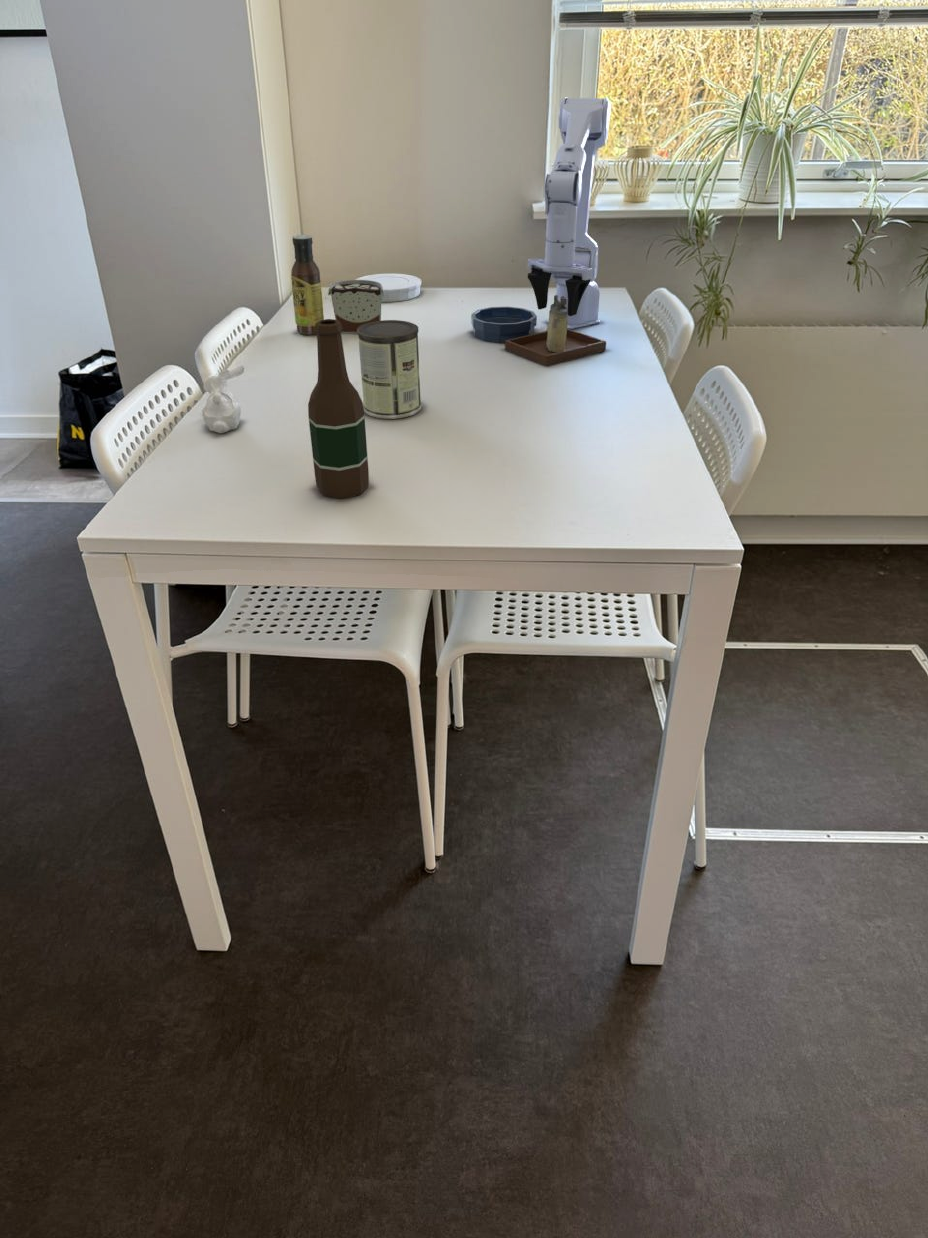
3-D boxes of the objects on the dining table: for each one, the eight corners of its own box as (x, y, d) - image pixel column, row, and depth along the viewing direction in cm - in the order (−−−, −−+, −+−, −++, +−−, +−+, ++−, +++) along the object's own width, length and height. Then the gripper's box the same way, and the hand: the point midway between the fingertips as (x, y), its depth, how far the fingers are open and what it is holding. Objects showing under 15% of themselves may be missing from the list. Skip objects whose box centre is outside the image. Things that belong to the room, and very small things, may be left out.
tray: (563, 336, 193) (563, 326, 192) (605, 350, 184) (606, 341, 183) (504, 349, 185) (504, 340, 184) (546, 366, 176) (546, 356, 175)
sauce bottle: (292, 330, 197) (281, 234, 186) (317, 326, 200) (308, 231, 189) (304, 337, 193) (293, 240, 182) (330, 333, 196) (321, 236, 185)
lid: (330, 295, 223) (329, 282, 221) (392, 281, 234) (392, 270, 233) (373, 308, 212) (372, 295, 211) (435, 293, 224) (435, 281, 222)
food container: (391, 325, 200) (388, 279, 195) (386, 333, 195) (383, 286, 190) (337, 324, 201) (333, 278, 196) (331, 332, 196) (327, 285, 191)
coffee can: (377, 395, 162) (372, 317, 155) (429, 402, 160) (427, 322, 152) (353, 415, 154) (346, 333, 146) (408, 422, 152) (404, 339, 144)
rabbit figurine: (208, 412, 156) (199, 357, 151) (252, 409, 157) (244, 355, 152) (203, 438, 146) (192, 380, 141) (250, 435, 147) (241, 378, 142)
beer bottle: (317, 477, 133) (300, 314, 120) (369, 475, 134) (358, 312, 120) (314, 500, 127) (295, 330, 113) (369, 498, 127) (357, 328, 114)
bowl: (508, 321, 203) (508, 303, 200) (548, 335, 193) (548, 316, 191) (459, 331, 196) (459, 313, 194) (498, 346, 187) (498, 327, 184)
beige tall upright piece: (565, 353, 181) (570, 302, 175) (547, 352, 181) (551, 302, 175) (562, 342, 187) (566, 293, 181) (544, 342, 187) (548, 293, 181)
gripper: (518, 238, 174) (516, 309, 181) (578, 248, 166) (574, 322, 173) (540, 232, 178) (537, 302, 186) (600, 242, 170) (595, 314, 178)
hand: (557, 311), depth 180 cm, fingers open, 7 cm apart
